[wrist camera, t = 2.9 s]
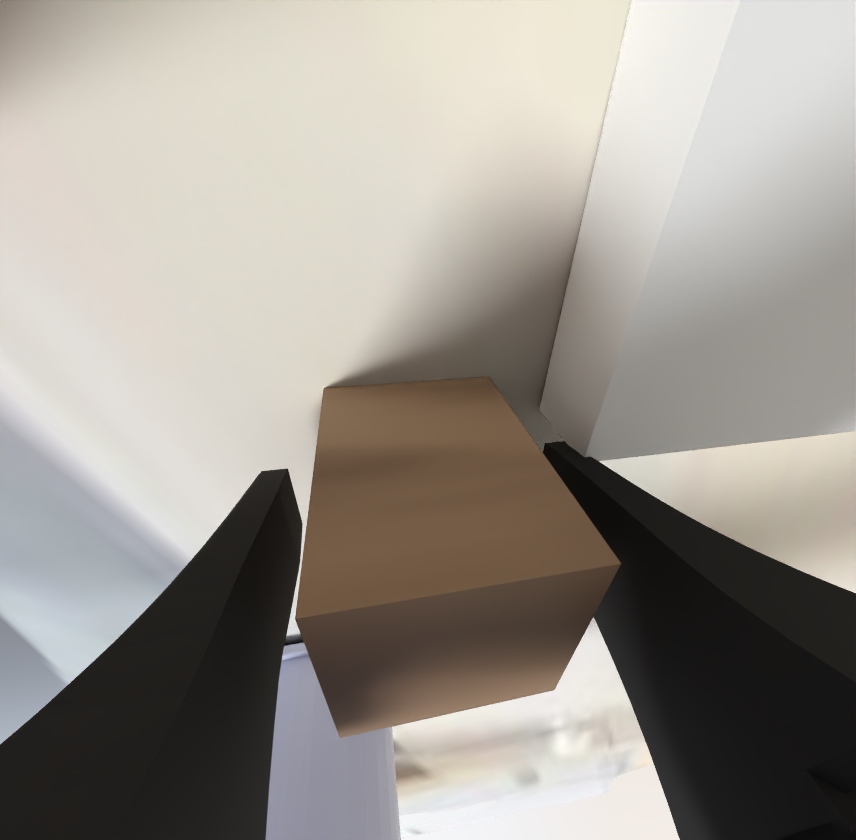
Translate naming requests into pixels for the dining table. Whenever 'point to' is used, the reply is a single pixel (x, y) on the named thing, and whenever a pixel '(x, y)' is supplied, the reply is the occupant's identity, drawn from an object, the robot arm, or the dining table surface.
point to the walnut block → (439, 556)
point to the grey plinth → (716, 236)
